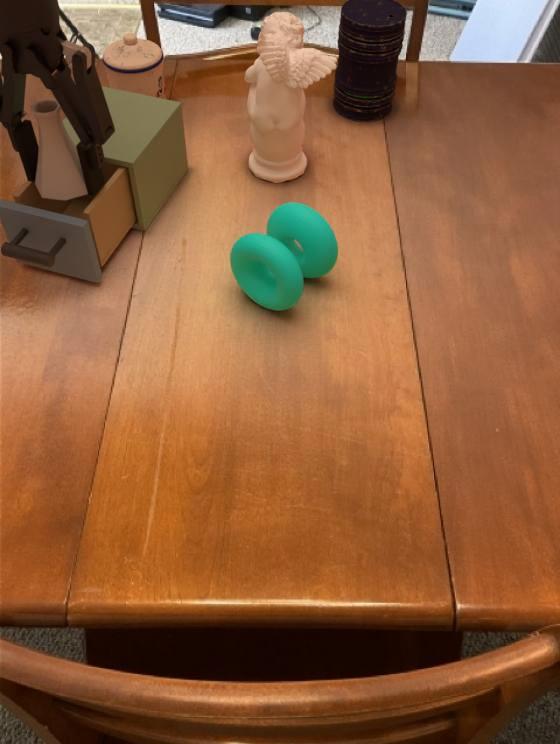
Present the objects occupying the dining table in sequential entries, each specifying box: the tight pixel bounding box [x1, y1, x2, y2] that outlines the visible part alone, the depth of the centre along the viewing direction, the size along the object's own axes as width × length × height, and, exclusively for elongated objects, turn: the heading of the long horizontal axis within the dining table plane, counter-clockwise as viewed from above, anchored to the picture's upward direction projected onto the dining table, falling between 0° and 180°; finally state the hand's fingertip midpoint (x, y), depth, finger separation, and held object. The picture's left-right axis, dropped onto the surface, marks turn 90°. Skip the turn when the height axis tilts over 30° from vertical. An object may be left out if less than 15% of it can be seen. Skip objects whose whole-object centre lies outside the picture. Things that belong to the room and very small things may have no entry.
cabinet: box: [62, 85, 189, 232], centre depth 92 cm, size 15×13×11 cm
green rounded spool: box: [229, 201, 339, 311], centre depth 81 cm, size 10×10×10 cm
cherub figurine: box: [244, 11, 338, 184], centre depth 91 cm, size 12×12×22 cm
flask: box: [30, 97, 88, 200], centre depth 77 cm, size 7×7×10 cm
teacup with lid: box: [101, 32, 168, 100], centre depth 105 cm, size 12×9×12 cm
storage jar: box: [332, 0, 408, 123], centre depth 105 cm, size 10×10×15 cm
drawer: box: [0, 162, 137, 284], centre depth 83 cm, size 18×11×9 cm, turn 161°
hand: (66, 181), depth 81 cm, fingers closed on flask, 7 cm apart
